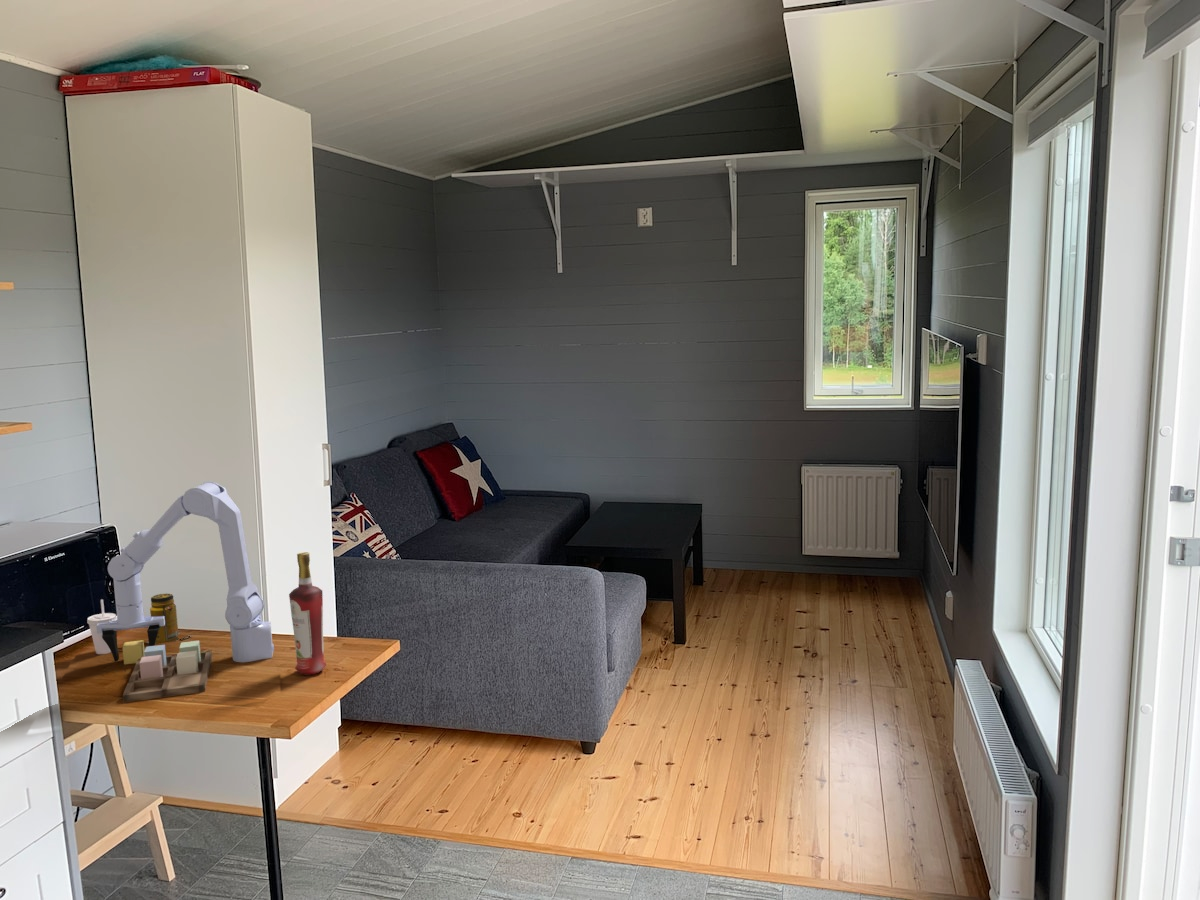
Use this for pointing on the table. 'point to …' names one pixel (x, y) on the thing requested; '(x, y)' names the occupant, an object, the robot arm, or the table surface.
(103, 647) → the smoothie
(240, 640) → the robot arm
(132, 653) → the mustard block
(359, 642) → the table surface
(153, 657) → the rose block
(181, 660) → the cream block
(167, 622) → the condiment
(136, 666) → the block tray
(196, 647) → the sage block
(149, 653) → the blue block
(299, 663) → the liquor
